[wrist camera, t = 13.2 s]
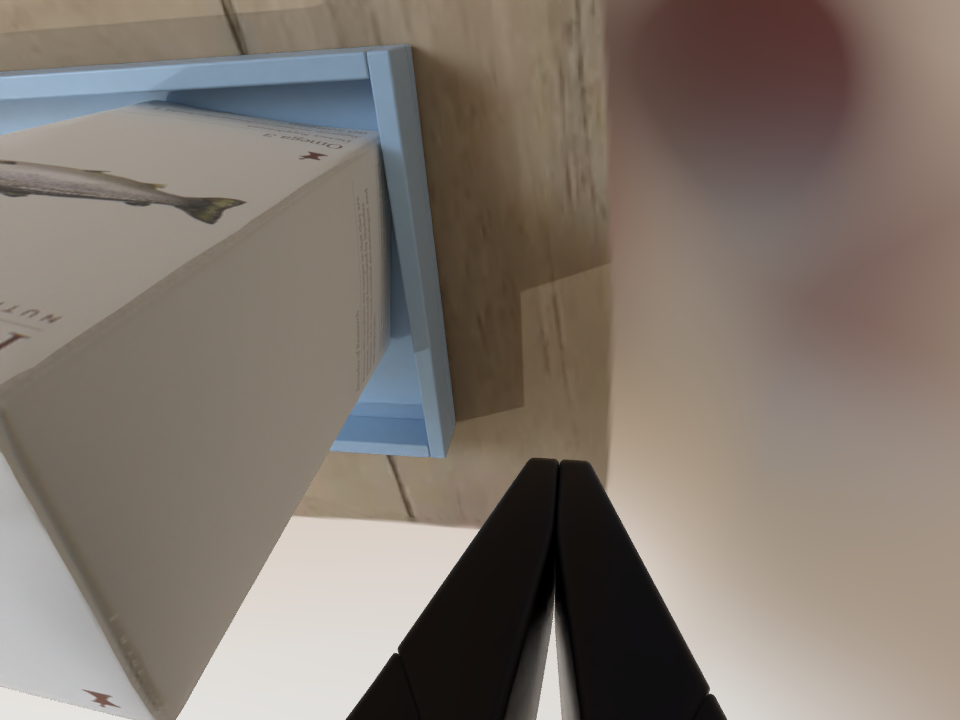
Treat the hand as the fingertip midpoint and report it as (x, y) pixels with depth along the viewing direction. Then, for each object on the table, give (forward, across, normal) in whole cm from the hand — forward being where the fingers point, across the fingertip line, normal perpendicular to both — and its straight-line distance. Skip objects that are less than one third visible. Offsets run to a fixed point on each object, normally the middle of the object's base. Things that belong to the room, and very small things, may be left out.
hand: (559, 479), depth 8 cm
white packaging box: (+10, +9, 0) cm, 14 cm away
